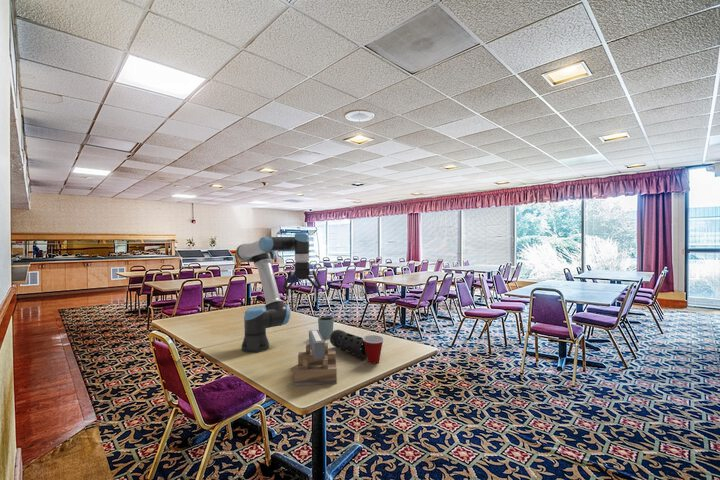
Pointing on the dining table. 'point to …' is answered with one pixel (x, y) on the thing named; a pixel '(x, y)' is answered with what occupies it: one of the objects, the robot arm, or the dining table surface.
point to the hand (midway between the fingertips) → (302, 301)
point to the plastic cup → (373, 347)
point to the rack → (315, 368)
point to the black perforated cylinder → (348, 343)
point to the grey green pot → (325, 326)
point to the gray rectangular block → (316, 344)
